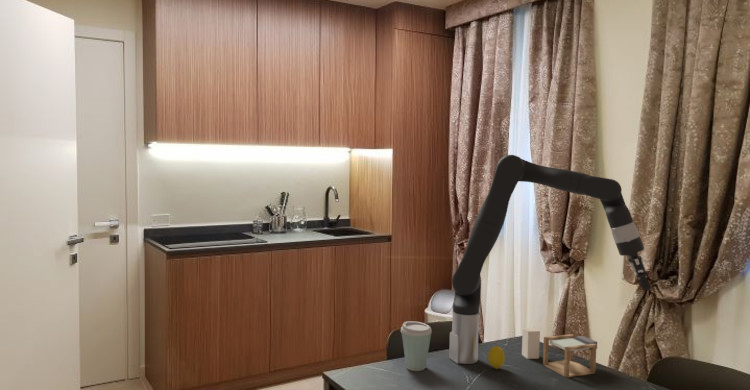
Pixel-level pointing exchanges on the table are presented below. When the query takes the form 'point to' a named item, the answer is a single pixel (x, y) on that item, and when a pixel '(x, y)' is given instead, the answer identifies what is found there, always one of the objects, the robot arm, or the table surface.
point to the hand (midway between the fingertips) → (645, 286)
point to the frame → (569, 359)
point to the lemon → (496, 357)
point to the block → (530, 343)
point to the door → (573, 342)
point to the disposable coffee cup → (416, 344)
